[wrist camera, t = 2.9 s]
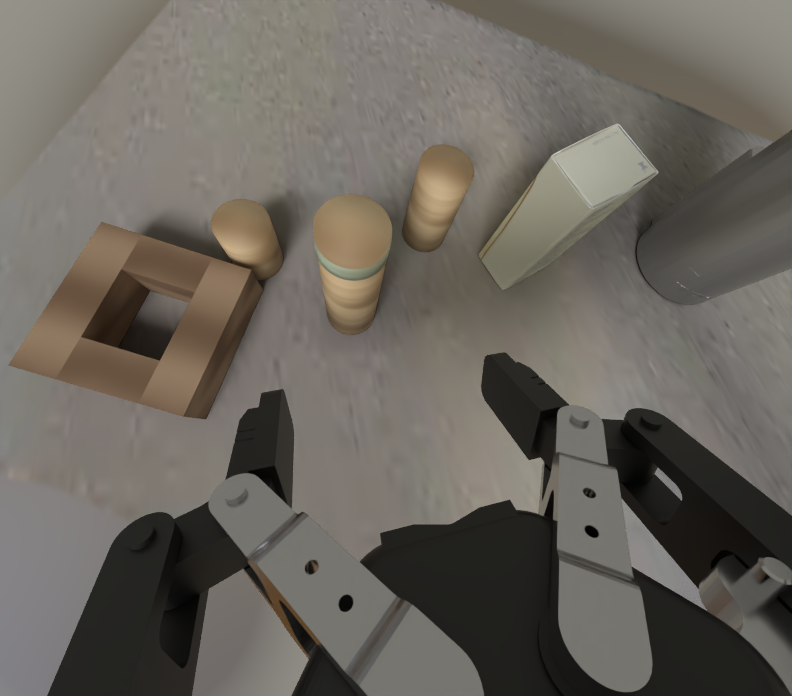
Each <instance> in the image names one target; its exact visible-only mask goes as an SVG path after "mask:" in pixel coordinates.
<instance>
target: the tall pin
mask: <svg viewBox="0 0 792 696" xmlns="http://www.w3.org/2000/svg"><path fill="white" fill-rule="evenodd" d="M313 238H314V244H315V250H316V254H317V257H318V262H319V268H320V274H321V280H322V286H323V292H324V298H325V304H326V310H327V316H328V320H329V322H330V324H331V325H332V326H333V327H334V328H335V329H336V330H337V331H339V332H341V333H343V334H347V335H356V334H360V333H362V332H364V331H365V330H367V329H368V328H369V327H370V326H371V324H372V322H373V320H374V316H375V311H376V307H377V302H378V297H379V293H380V288H381V284H382V279H383V275H384V270H385V265H386V262H387V259H388V256H389V251H390V247H391V242H392V224H391V221H390V218H389V216H388V214H387V213H386V211H385V210H384V209H383V208H382V207H381V206H380V205H379V204H378V203H376V202H375V201H373V200H371V199H369V198H367V197H364V196H360V195H352V194H348V195H340V196H337V197H334V198H332V199H330V200H328V201H327V202H325V203H324V204H323V205H322V206H321V207H320V208H319V210H318V211H317V213H316V215H315V218H314V222H313Z"/></svg>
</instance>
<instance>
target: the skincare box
mask: <svg viewBox="0 0 792 696" xmlns="http://www.w3.org/2000/svg"><path fill="white" fill-rule="evenodd" d="M658 173H659V171H658V170H657V169H656V168H655V167H654V166H653V165H652V163H651V162H650V161H649V160H648V159H647V157H646V156H645V155H644V154H643V152H642V151H641V150H640V149H639V147H638V146H637V145H636V144H635V143H634V141H633V140H632V139H631V138H630V137H629V135H628V134H627V133H626V132H625V131H624V129H623V128H622V127H621V126H620V125H619V124H615V125H613V126H610V127H608V128H605V129H603V130H601V131H599V132H597V133H595V134H593V135H590V136H588V137H586V138H584V139H582V140H580V141H578V142H576V143H574V144H572V145H570V146H568V147H566V148H564V149H562V150H560V151H558V152H556V153H555V154H553V155H552V156H551V157H550V158H549V159H548V161H547V162H546V163H545V165H544V166H543V167H542V169H541V170H540V172H539V173H538V174H537V176H536V177H535V178H534V180H533V181H532V182H531V184H530V185H529V187H528V188H527V189H526V190H525V192H524V193H523V195H522V196H521V197H520V199H519V200H518V201H517V203H516V204H515V206H514V207H513V208H512V209H511V211H510V212H509V214H508V215H507V216H506V218H505V219H504V220H503V222H502V223H501V224H500V226H499V227H498V228H497V230H496V231H495V233H494V234H493V235H492V237H491V238H490V239H489V241H488V242H487V243H486V245H485V246H484V248H483V249H482V250H481V252H480V253H479V255H478V256H479V258H480V259H481V261H482V262H483V264H484V265H485V267H486V268H487V270H488V271H489V272H490V274H491V275H492V277H493V278H494V280H495V281H496V283H497V284H498V286H499V287H500V289H502V290H505V289H507V288H509V287H511V286H513V285H515V284H516V283H518V282H520V281H522V280H524V279H525V278H527V277H529V276H531V275H532V274H534V273H536V272H538V271H539V270H541V269H543V268H544V267H546V266H547V265H549V264H550V263H552V262H553V261H554V260H555V259H556V258H557V257H559V256H560V255H561V254H562V253H563V252H565V251H566V250H567V249H568V248H569V247H571V246H572V245H573V244H574V243H576V242H577V241H578V240H579V239H580V238H582V237H583V236H584V235H585V234H586V233H587V232H589V231H590V230H591V229H592V228H593V227H595V226H596V225H597V224H598V223H600V222H601V221H602V220H603V219H604V218H606V217H607V216H608V215H609V214H610V213H612V212H613V211H614V210H615V209H616V208H618V207H619V206H620V205H621V204H622V203H624V202H625V201H626V200H627V199H628V198H630V197H631V196H632V195H633V194H634V193H636V192H637V191H638V190H639V189H640V188H642V187H643V186H644V185H645V184H646V183H648V182H649V181H650V180H651V179H652V178H654V177H655V176H656V175H657V174H658Z"/></svg>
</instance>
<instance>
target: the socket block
mask: <svg viewBox="0 0 792 696" xmlns="http://www.w3.org/2000/svg"><path fill="white" fill-rule="evenodd" d="M150 290H151V291H154V292H157V293H160V294H163V295H167V296H170V297H173V298H176V299H179V300H183V301H186V302H189V305H188V307H187V309H186V311H185V313H184V315H183V317H182V319H181V321H180V323H179V325H178V326H177V328H176V330H175V332H174V334H173V336H172V338H171V340H170V342H169V344H168V346H167V348H166V350H165V352H164V354H163V356H162V358H161V360H160V361H159V360H156V359H152V358H149V357H146V356H142V355H139V354H136V353H132V352H129V351H126V350H122V349H119V348H118V347H119V345H120V343H121V341H122V339H123V338H124V336H125V334H126V332H127V330H128V329H129V327H130V325H131V323H132V321H133V320H134V318H135V316H136V314H137V313H138V311H139V309H140V307H141V305H142V304H143V302H144V300H145V298H146V296H147V295H148V293H149V291H150ZM262 292H263V289H262V287H261V286H260V284H259V282H258V280H257V279H256V277H255V275H254V273H253V272H252V270H250V269H247V268H243V267H240V266H237V265H234V264H231V263H228V262H225V261H222V260H219V259H215V258H212V257H209V256H206V255H203V254H200V253H197V252H194V251H191V250H187V249H184V248H181V247H178V246H175V245H172V244H169V243H166V242H163V241H159V240H156V239H153V238H150V237H147V236H144V235H141V234H138V233H135V232H131V231H128V230H125V229H122V228H119V227H116V226H113V225H110V224H107V223H103V222H101V223H100V225H99V226H98V228H97V229H96V231H95V233H94V234H93V236H92V237H91V239H90V240H89V242H88V243H87V245H86V246H85V248H84V250H83V251H82V253H81V254H80V256H79V257H78V259H77V260H76V262H75V263H74V265H73V266H72V268H71V270H70V271H69V273H68V274H67V276H66V277H65V279H64V280H63V282H62V283H61V285H60V286H59V288H58V290H57V291H56V293H55V294H54V296H53V297H52V299H51V300H50V302H49V303H48V305H47V307H46V308H45V310H44V311H43V313H42V314H41V316H40V317H39V319H38V320H37V322H36V323H35V325H34V327H33V328H32V330H31V331H30V333H29V334H28V336H27V337H26V339H25V340H24V342H23V344H22V345H21V347H20V348H19V350H18V351H17V353H16V354H15V356H14V357H13V359H12V360H11V362H10V364H9V366H13V367H16V368H20V369H23V370H26V371H30V372H33V373H37V374H40V375H43V376H47V377H50V378H54V379H57V380H61V381H64V382H67V383H71V384H74V385H78V386H81V387H85V388H88V389H91V390H95V391H98V392H102V393H105V394H109V395H112V396H115V397H119V398H122V399H126V400H129V401H132V402H136V403H139V404H143V405H146V406H150V407H153V408H156V409H160V410H163V411H167V412H170V413H174V414H177V415H180V416H184V417H192V418H200V419H206V417H207V415H208V413H209V411H210V408H211V406H212V404H213V402H214V399H215V397H216V395H217V393H218V390H219V388H220V386H221V384H222V381H223V379H224V377H225V375H226V372H227V370H228V368H229V366H230V363H231V361H232V359H233V357H234V354H235V352H236V350H237V348H238V345H239V343H240V341H241V339H242V337H243V334H244V332H245V330H246V328H247V325H248V323H249V321H250V319H251V316H252V314H253V312H254V310H255V307H256V305H257V303H258V301H259V298H260V296H261V294H262Z"/></svg>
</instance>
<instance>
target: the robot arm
mask: <svg viewBox="0 0 792 696" xmlns="http://www.w3.org/2000/svg"><path fill="white" fill-rule="evenodd" d="M637 259H638V263H639V266H640V269H641V271H642V273H643V275H644V277H645V279H646V280H647V281H648V282H649V284H650V285H651V286H652V287H653V288H654V289H655V290H656V291H657V292H658V293H659V294H661V295H662V296H664V297H665V298H667V299H669V300H671V301H674V302H676V303H680V304H684V305H694V304H698V303H702V302H704V301H707V300H710V299H712V298H715V297H718V296H720V295H723V294H725V293H728V292H731V291H733V290H736V289H739V288H741V287H744V286H747V285H749V284H752V283H755V282H757V281H760V280H763V279H765V278H768V277H770V276H773V275H776V274H778V273H781V272H783V271H786V270H789V269H791V268H792V130H791V131H789V132H788V133H786V134H785V135H784V136H782V137H781V138H779V139H778V140H776V141H775V142H773V143H772V144H771V145H769V146H768V147H766V148H765V147H761V146H759V147H755V148H752V149H750V150H749V151H747V152H746V153H744V154H743V155H742V156H740V157H739V158H737V159H736V160H735V161H733V162H732V163H730V164H729V165H728V166H726V167H725V168H723V169H722V170H721V171H719V172H718V173H716V174H715V175H714V176H712V177H711V178H709V179H708V180H707V181H705V182H704V183H702V184H701V185H700V186H698V187H697V188H696V189H694V190H693V191H691V192H690V193H689V194H687V195H686V196H684V197H683V198H682V199H680V200H679V201H677V202H676V203H675V204H673V205H672V206H670V207H669V208H668V209H666V210H665V211H663V212H662V213H661V214H659V215H658V216H656V217H655V218H654V219H653V220H652V225H651V227H650V228H649V229H648V230H647V231H645V232H644V233H643V234H642V236H641V237H640V239H639V242H638V245H637ZM481 390H482V394H483V397H484V399H485V401H486V402H487V404H488V405H489V406H490V408H491V409H492V410H493V412H494V413H495V415H496V416H497V417H498V419H499V420H500V421H501V423H502V424H503V425H504V427H505V428H506V430H507V431H508V432H509V434H510V435H511V436H512V438H513V439H514V440H515V442H516V443H517V445H518V446H519V447H520V449H521V450H522V451H523V453H524V454H525V455H526V457H527V458H528V460H531V459H535V458H540V457H541V458H542V460H543V461H544V463H543V466H542V476H541V489H540V501H539V511H538V514H536V513H532V512H528V511H522V510H516V509H515V508H514V506H513V504H512V503H511V501H510V500H507V501H503V502H499V503H495V504H492V505H488V506H484V507H480V508H478V509H476V510H475V511H473V512H471V513H470V514H468V515H466V516H465V517H463V518H461V519H460V520H458V521H456V522H455V523H453V524H449V525H410V526H406V527H402V528H399V529H395V530H391V531H387V532H383V533H380V536H381V545H380V546H378V547H376V548H375V549H373V550H372V551H371V552H369V553H368V554H367V555H366V556H365V557H364V558H363V559H362V560H361V561H360V562H359V561H358V560H357V559H356V558H355V557H354V556H352V555H351V554H350V553H349V552H348V551H347V550H346V549H345V548H344V547H343V546H342V545H341V544H339V543H338V542H337V541H336V540H335V539H334V538H333V537H332V536H331V535H330V534H329V533H328V532H326V531H325V530H324V529H323V528H322V527H321V526H320V525H319V524H318V523H317V522H316V521H315V520H313V519H312V518H311V517H310V516H309V515H308V514H306V513H304V512H301V513H300V514H297V513H296V512H294V511H293V510H292V484H293V453H294V429H293V423H292V418H291V415H290V411H289V407H288V403H287V400H286V396H285V392H284V390H283V389H281V390H275V391H269V392H264V393H262V394H261V398H260V404H259V407H258V408H252V409H248V410H247V411H246V413H245V414H244V415H243V417H242V418H241V419H240V421H239V425H238V429H237V434H236V438H235V443H234V446H233V451H232V455H231V459H230V463H229V467H228V472H227V476H226V480H225V481H223V482H222V483H221V484H220V485H219V486H218V487H217V488H216V489H215V490H214V491H213V493H212V494H211V497H210V499H209V501H208V502H207V503H205V504H204V505H202V506H200V507H198V508H196V509H194V510H192V511H190V512H188V513H186V514H184V515H182V516H179V517H177V518H175V519H173V518H172V516H171V515H169V514H167V513H163V512H156V513H151V514H148V515H145V516H143V517H141V518H139V519H137V520H135V521H134V522H132V523H131V524H130V525H128V526H127V527H126V528H125V529H124V530H123V531H122V532H121V533H120V534H119V535H118V536H117V537H116V539H115V540H114V542H113V543H112V545H111V547H110V550H109V552H108V554H107V556H106V559H105V561H104V563H103V566H102V568H101V570H100V573H99V575H98V578H97V580H96V582H95V585H94V587H93V589H92V592H91V594H90V596H89V599H88V601H87V603H86V606H85V608H84V611H83V613H82V615H81V618H80V620H79V622H78V625H77V627H76V630H75V632H74V634H73V636H72V639H71V641H70V643H69V646H68V648H67V651H66V653H65V655H64V658H63V660H62V662H61V665H60V667H59V669H58V672H57V674H56V676H55V679H54V681H53V683H52V686H51V688H50V691H49V693H48V695H47V696H192V690H193V685H194V678H195V672H196V665H197V659H198V653H199V647H200V640H201V634H202V628H203V622H204V615H205V609H206V602H207V596H208V590H209V588H211V587H212V586H214V585H216V584H218V583H219V582H221V581H223V580H224V579H226V578H228V577H230V576H231V575H233V574H235V573H236V572H238V571H240V570H241V569H242V570H243V571H244V572H245V574H246V575H247V576H248V578H249V579H250V580H251V582H252V583H253V584H254V586H255V587H256V588H257V589H258V591H259V592H260V593H261V595H262V596H263V597H264V598H265V600H266V601H267V602H268V604H269V605H270V606H271V608H272V609H273V610H274V612H275V613H276V615H277V616H278V617H279V619H280V620H281V622H282V624H283V625H284V627H285V628H286V630H287V631H288V633H289V634H290V635H291V637H292V638H293V640H294V641H295V642H296V643H297V645H298V646H299V647H300V649H301V650H302V651H303V653H304V654H305V655H306V657H307V658H308V659H309V661H308V663H307V665H306V667H305V669H304V671H303V673H302V675H301V677H300V679H299V681H298V683H297V685H296V687H295V690H294V692H293V694H292V696H792V516H791V515H790V514H789V513H788V512H786V511H785V510H784V509H782V508H781V507H780V506H779V505H777V504H776V503H775V502H774V501H772V500H771V499H770V498H768V497H767V496H766V495H765V494H763V493H762V492H761V491H760V490H758V489H757V488H756V487H754V486H753V485H752V484H751V483H749V482H748V481H747V480H746V479H744V478H743V477H742V476H740V475H739V474H738V473H737V472H735V471H734V470H733V469H732V468H730V467H729V466H728V465H727V464H725V463H724V462H723V461H721V460H720V459H719V458H718V457H716V456H715V455H714V454H713V453H711V452H710V451H709V450H707V449H706V448H705V447H704V446H702V445H701V444H700V443H699V442H697V441H696V440H695V439H693V438H692V437H691V436H690V435H688V434H687V433H686V432H685V431H683V430H682V429H681V428H679V427H678V426H677V425H676V424H674V423H673V422H672V421H671V420H669V419H668V418H667V417H665V416H663V415H661V414H659V413H657V412H655V411H652V410H648V409H642V408H635V409H631V410H629V411H628V412H627V413H626V415H625V418H624V420H609V419H601V418H600V417H599V416H598V415H597V414H595V413H594V412H592V411H591V410H589V409H587V408H584V407H580V406H574V405H569V404H568V403H567V402H566V401H565V400H564V399H562V398H561V397H560V396H559V395H558V394H557V393H556V392H555V391H554V390H553V389H552V388H551V387H550V386H549V385H548V384H546V383H545V381H544V380H542V379H541V378H539V376H538V375H537V374H536V373H535V372H534V371H533V370H532V369H531V368H529V367H527V366H525V365H523V364H522V363H520V362H517V363H516V362H515V361H514V360H513V359H512V358H511V357H510V356H509V355H508V354H506V353H498V354H492V355H487V356H486V357H485V359H484V367H483V375H482V384H481ZM657 468H659V469H660V470H662V471H663V472H664V473H665V474H666V475H667V476H668V477H669V478H670V479H671V480H672V481H673V482H674V483H675V484H676V485H677V486H678V487H679V489H680V491H681V493H682V501H681V500H680V499H679V498H678V497H677V496H676V495H675V494H674V493H673V492H672V491H671V490H670V489H669V488H668V487H667V486H666V485H665V484H664V483H663V482H662V481H661V480H660V479H659V478H658V477H657V476H656V475H655V474H654V473H655V471H656V470H657ZM621 498H622V499H623V500H624V501H625V503H626V504H627V505H628V506H629V507H630V509H631V510H632V511H633V512H634V513H635V514H636V516H637V517H638V518H639V519H640V520H641V522H642V523H643V524H644V525H645V526H646V527H647V529H648V530H649V531H650V532H651V533H652V535H653V536H654V537H655V538H656V539H657V540H658V542H659V543H660V544H661V545H662V546H663V548H664V549H665V550H666V551H667V552H668V553H669V555H670V556H671V557H672V558H673V559H674V561H675V562H676V563H677V564H678V565H679V566H680V568H681V569H682V570H683V571H684V572H685V573H686V575H687V576H688V577H689V578H690V579H691V581H692V582H693V583H694V584H695V585H696V586H697V588H698V589H699V595H700V598H701V601H702V603H703V604H704V606H705V608H706V609H707V611H706V610H704V609H702V608H701V607H699V606H697V605H696V604H694V603H692V602H691V601H689V600H687V599H685V598H684V597H682V596H680V595H679V594H677V593H675V592H674V591H672V590H670V589H669V588H667V587H665V586H663V585H662V584H660V583H658V582H657V581H655V580H653V579H652V578H650V577H648V576H646V575H645V574H643V573H641V572H640V571H638V570H636V569H635V568H633V567H631V560H630V553H629V547H628V540H627V533H626V526H625V520H624V513H623V506H622V499H621Z"/></svg>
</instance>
